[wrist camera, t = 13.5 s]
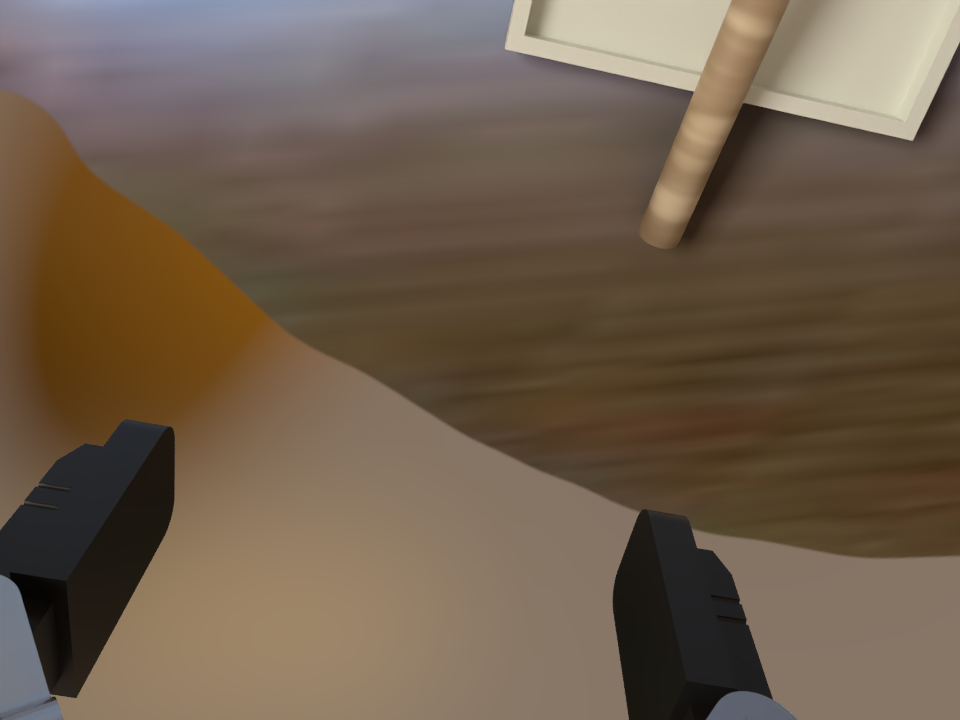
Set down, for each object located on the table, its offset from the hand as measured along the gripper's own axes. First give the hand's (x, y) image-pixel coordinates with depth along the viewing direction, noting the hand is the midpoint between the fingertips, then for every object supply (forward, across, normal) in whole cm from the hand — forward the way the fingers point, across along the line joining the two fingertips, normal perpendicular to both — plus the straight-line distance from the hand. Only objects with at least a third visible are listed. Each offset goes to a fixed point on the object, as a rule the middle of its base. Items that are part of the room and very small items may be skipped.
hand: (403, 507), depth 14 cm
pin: (+31, -12, -11) cm, 35 cm away
